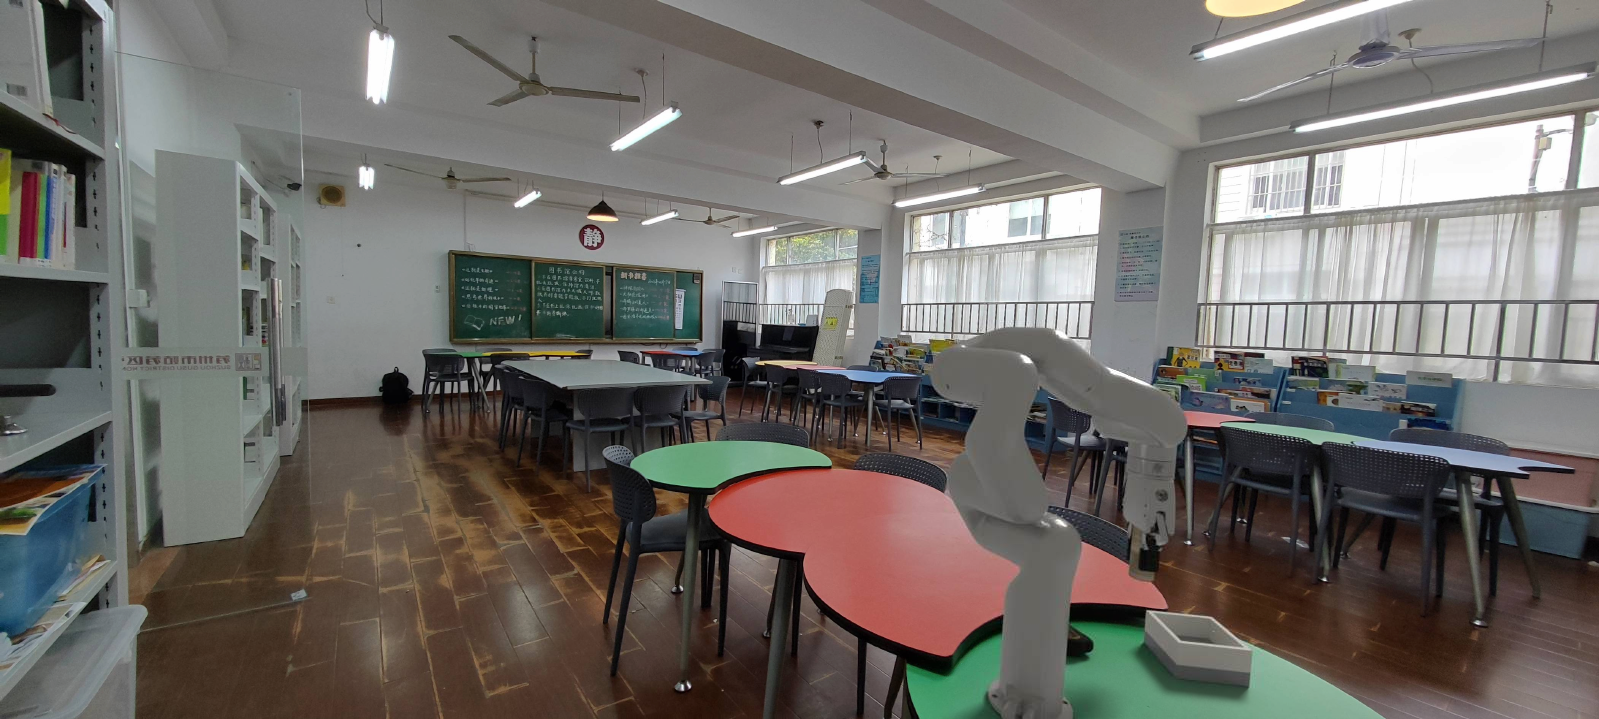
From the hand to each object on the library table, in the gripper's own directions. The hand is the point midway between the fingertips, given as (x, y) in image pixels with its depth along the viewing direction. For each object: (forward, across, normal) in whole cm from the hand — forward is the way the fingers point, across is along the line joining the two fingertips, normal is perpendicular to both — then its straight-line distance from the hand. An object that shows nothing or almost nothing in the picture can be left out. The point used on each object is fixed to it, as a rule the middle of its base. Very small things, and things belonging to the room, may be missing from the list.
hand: (1141, 564), depth 105 cm
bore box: (+18, +2, -12) cm, 22 cm away
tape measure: (+19, +3, +10) cm, 22 cm away
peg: (+2, 0, 0) cm, 2 cm away
